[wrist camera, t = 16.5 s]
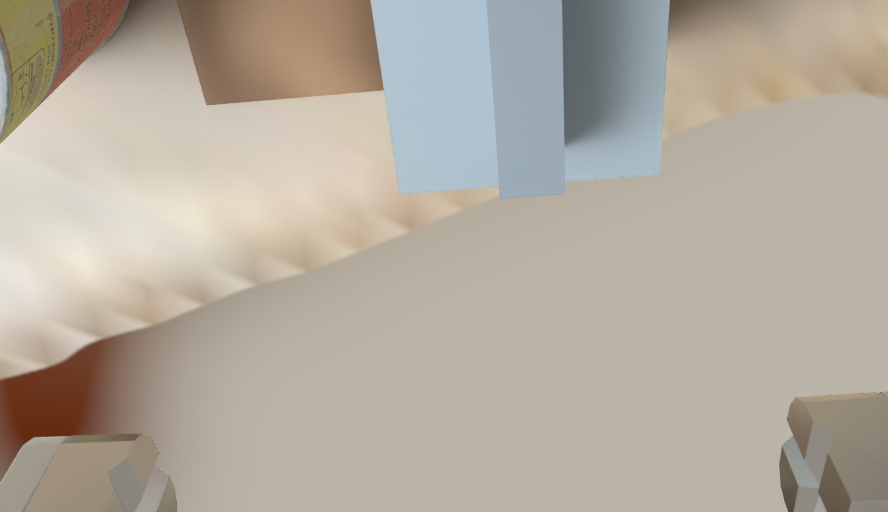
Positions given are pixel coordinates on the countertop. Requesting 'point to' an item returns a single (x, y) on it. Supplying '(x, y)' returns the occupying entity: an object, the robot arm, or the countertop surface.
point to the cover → (522, 91)
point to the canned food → (47, 48)
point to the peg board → (281, 48)
